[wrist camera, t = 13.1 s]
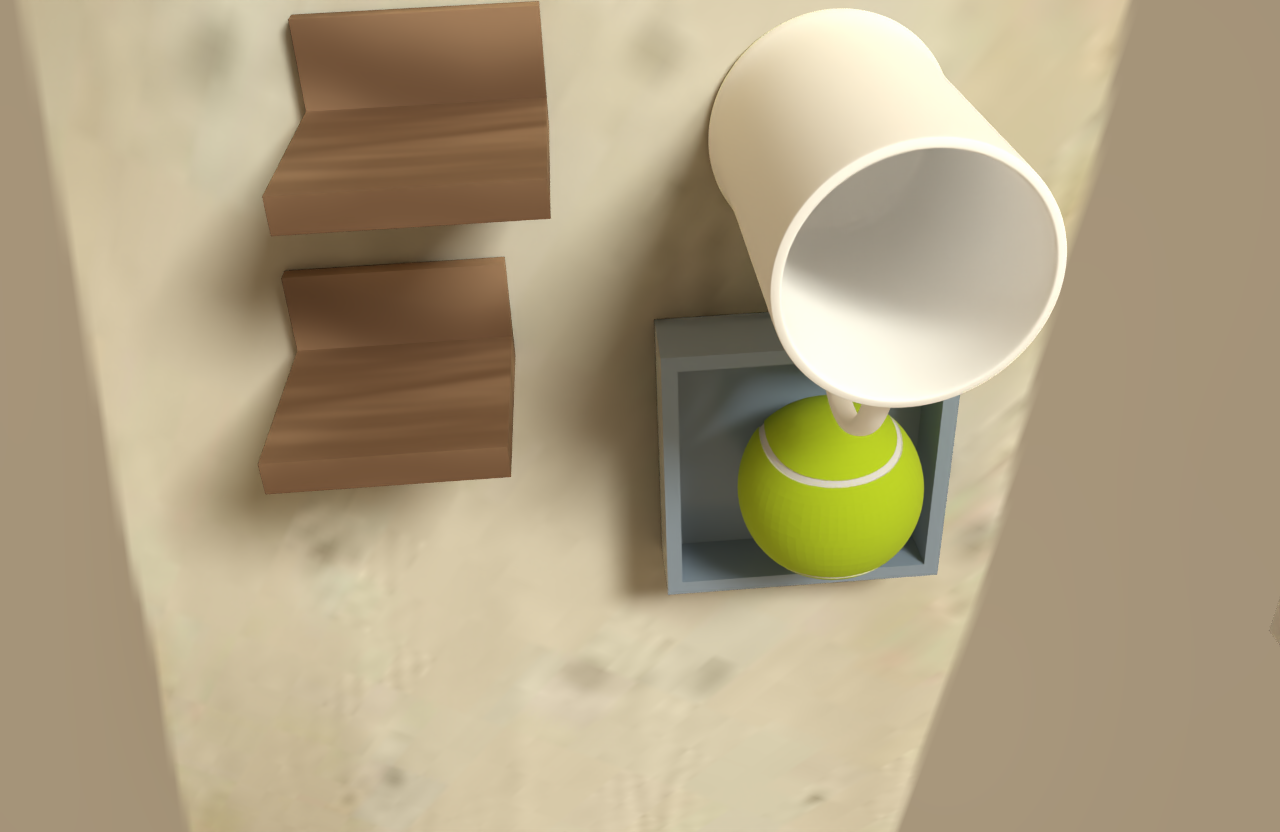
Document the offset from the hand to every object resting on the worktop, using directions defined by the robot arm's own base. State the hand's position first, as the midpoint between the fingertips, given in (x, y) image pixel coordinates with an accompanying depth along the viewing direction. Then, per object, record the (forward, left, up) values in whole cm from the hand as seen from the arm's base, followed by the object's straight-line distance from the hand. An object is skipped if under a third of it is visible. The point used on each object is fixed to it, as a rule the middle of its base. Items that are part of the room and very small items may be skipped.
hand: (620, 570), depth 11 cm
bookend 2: (+14, -7, -32) cm, 35 cm away
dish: (+20, +8, -32) cm, 38 cm away
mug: (+9, +9, -32) cm, 34 cm away
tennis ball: (+20, +9, -31) cm, 38 cm away
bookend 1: (+5, -5, -32) cm, 32 cm away
